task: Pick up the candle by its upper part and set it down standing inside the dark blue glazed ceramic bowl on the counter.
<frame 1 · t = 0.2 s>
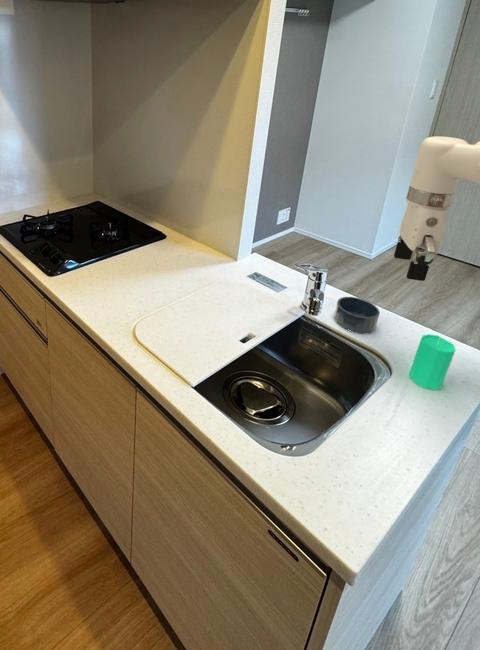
hand: (408, 268, 92), 25 cm above the worktop, tool pointing down, fingers open, 9 cm apart
bowl: (354, 322, 114), on the worktop
candle: (424, 380, 94), on the worktop
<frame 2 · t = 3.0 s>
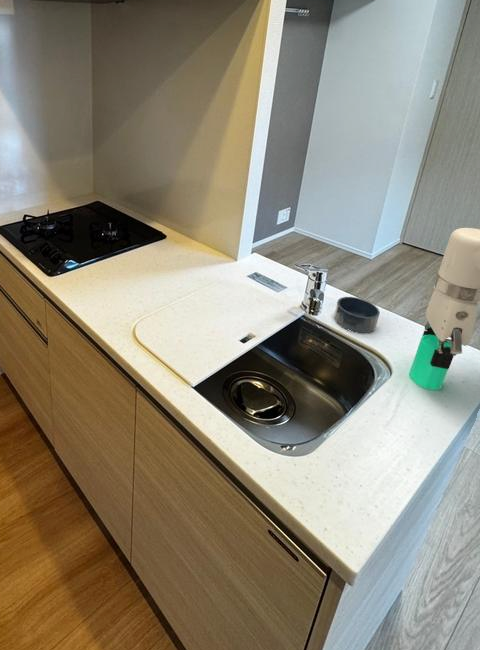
hand: (433, 355, 91), 7 cm above the worktop, tool pointing down, fingers closed on candle, 5 cm apart
candle: (424, 380, 94), on the worktop, touching gripper
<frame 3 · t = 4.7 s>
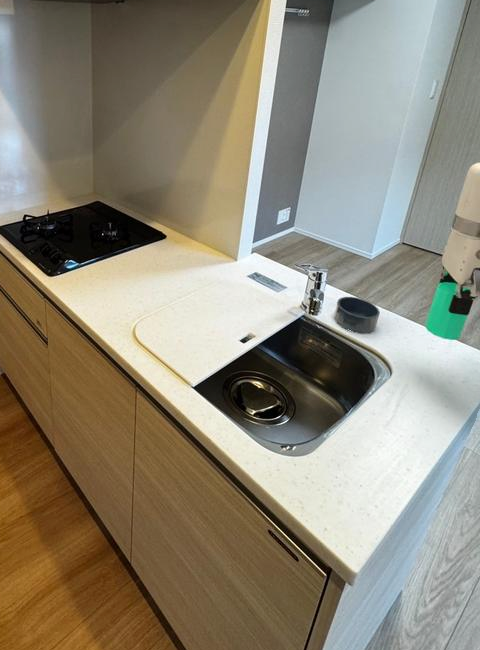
hand: (451, 303, 87), 20 cm above the worktop, tool pointing down, fingers closed on candle, 5 cm apart
candle: (442, 331, 89), point 13 cm above the worktop, touching gripper
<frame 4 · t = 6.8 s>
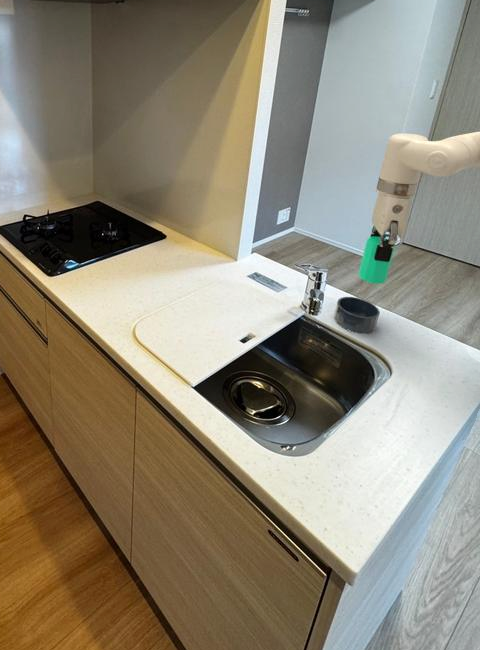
hand: (378, 253, 104), 22 cm above the worktop, tool pointing down, fingers closed on candle, 5 cm apart
candle: (371, 278, 107), point 15 cm above the worktop, touching gripper
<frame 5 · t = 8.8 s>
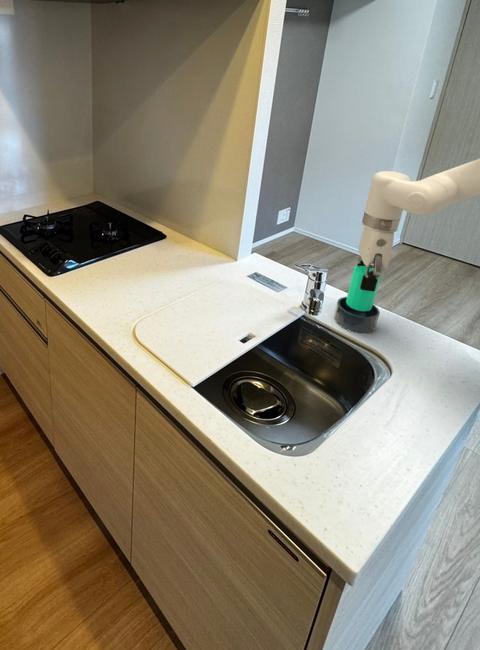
hand: (364, 282, 109), 13 cm above the worktop, tool pointing down, fingers closed on candle, 5 cm apart
candle: (358, 305, 112), point 6 cm above the worktop, touching gripper
when the fingers open (8 cm above the worktop, at t = 10.5 s): candle stays where it is, resting on bowl.
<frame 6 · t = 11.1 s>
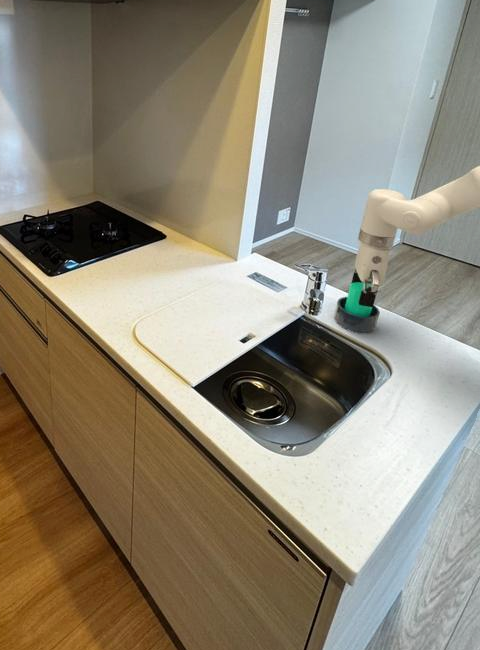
hand: (361, 295, 110), 9 cm above the worktop, tool pointing down, fingers open, 9 cm apart
candle: (354, 321, 113), resting on bowl
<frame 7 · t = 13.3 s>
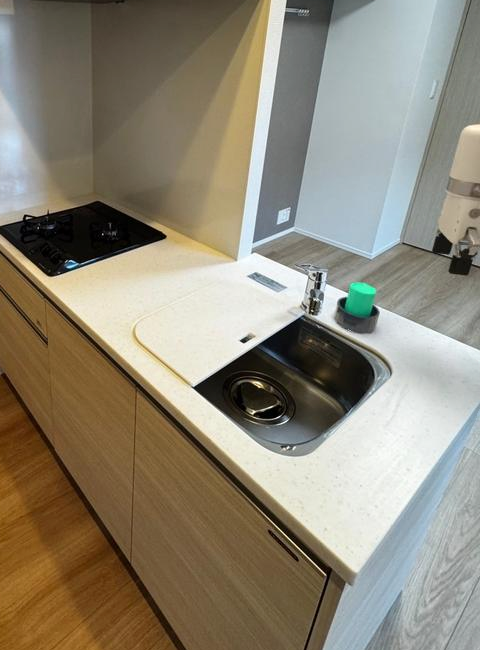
hand: (448, 263, 89), 27 cm above the worktop, tool pointing down, fingers open, 9 cm apart
nothing on the worktop moved.
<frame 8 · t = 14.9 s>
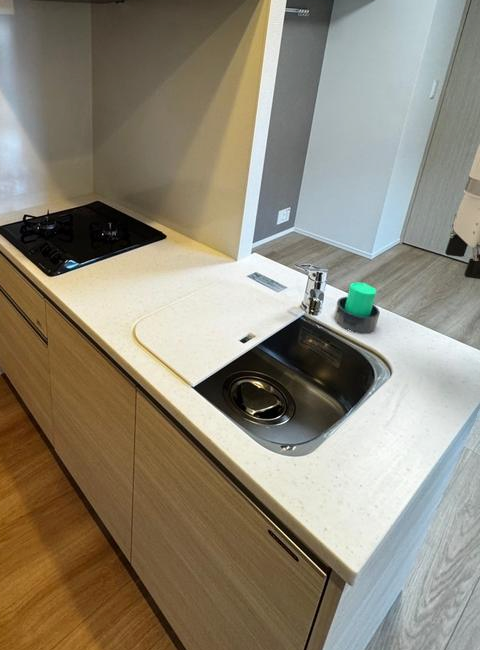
hand: (463, 266, 86), 28 cm above the worktop, tool pointing down, fingers open, 9 cm apart
nothing on the worktop moved.
at the end: candle 0.1 cm off-centre in the bowl, point 0.4 cm above the bowl's base; candle tilted 0°; the gripper is holding nothing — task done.
